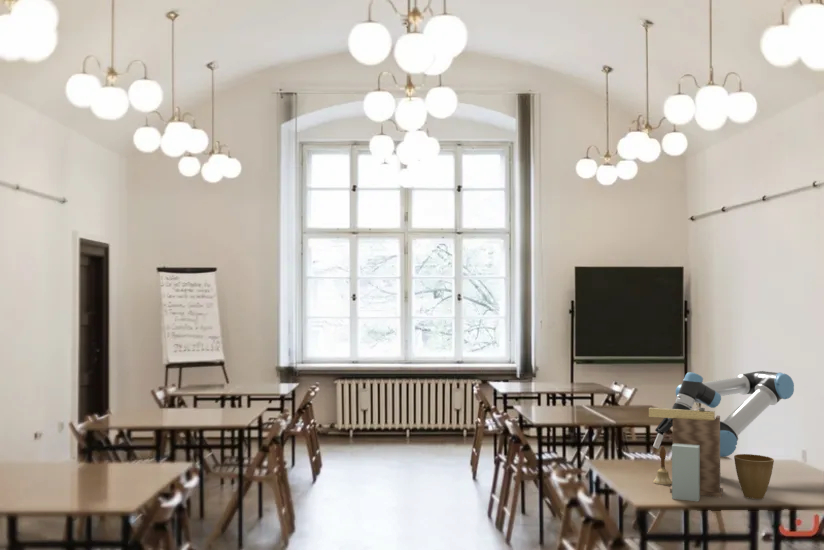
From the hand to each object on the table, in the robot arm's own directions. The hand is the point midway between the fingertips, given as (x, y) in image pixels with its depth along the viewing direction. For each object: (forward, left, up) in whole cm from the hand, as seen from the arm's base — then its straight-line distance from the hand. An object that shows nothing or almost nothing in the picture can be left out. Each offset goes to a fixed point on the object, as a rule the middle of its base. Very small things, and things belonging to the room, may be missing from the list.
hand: (665, 450), depth 348 cm
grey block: (+11, +27, -14) cm, 32 cm away
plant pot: (-17, +34, -14) cm, 40 cm away
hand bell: (+1, 0, -14) cm, 14 cm away
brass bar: (+4, +15, +16) cm, 22 cm away
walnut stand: (-1, +19, -14) cm, 23 cm away
